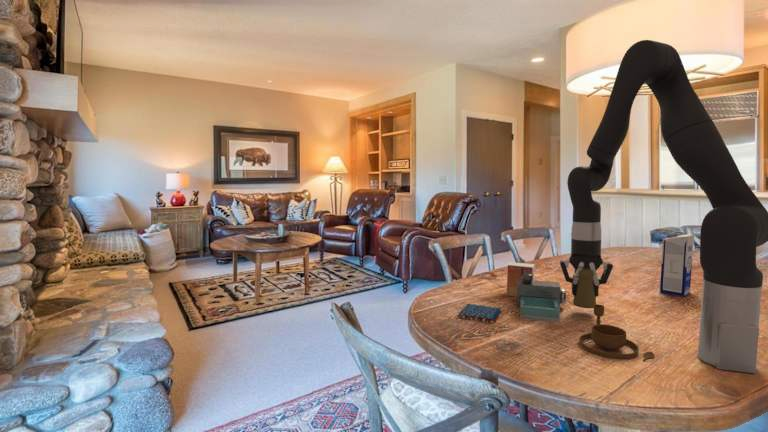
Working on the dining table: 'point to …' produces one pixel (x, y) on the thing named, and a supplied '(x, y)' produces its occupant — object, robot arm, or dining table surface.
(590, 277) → the cork
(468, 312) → the woven mat
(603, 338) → the place setting
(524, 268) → the small box
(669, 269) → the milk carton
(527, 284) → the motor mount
